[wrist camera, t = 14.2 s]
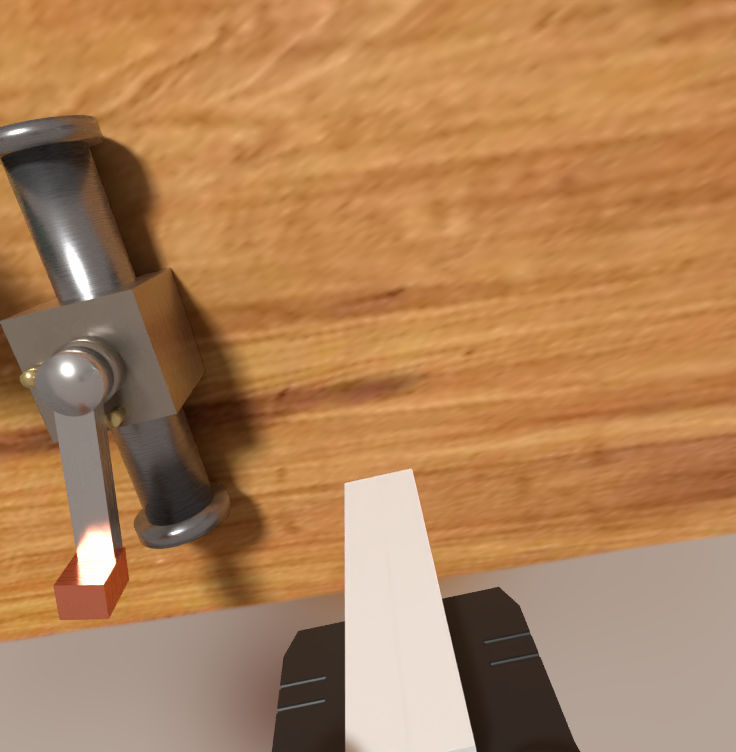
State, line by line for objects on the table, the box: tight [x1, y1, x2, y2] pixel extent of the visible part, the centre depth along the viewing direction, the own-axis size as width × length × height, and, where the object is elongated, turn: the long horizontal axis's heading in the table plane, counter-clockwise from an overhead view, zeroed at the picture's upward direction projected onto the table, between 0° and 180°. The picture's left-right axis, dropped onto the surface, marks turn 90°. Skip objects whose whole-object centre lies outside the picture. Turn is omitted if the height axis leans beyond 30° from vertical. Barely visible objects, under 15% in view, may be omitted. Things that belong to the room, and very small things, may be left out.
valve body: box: [0, 115, 232, 549], centre depth 39 cm, size 28×8×10 cm, turn 13°
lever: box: [35, 346, 129, 620], centre depth 34 cm, size 15×4×4 cm, turn 179°
